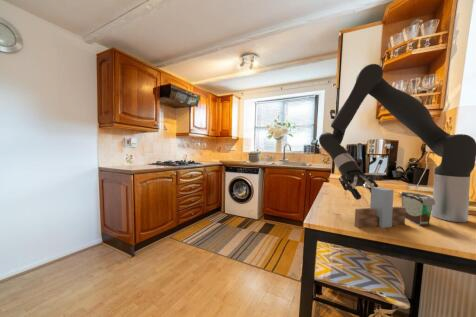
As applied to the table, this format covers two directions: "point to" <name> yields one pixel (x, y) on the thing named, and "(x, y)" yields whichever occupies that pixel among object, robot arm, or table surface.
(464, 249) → the table surface
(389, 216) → the slate block
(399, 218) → the walnut board
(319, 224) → the table surface
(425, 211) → the food container
